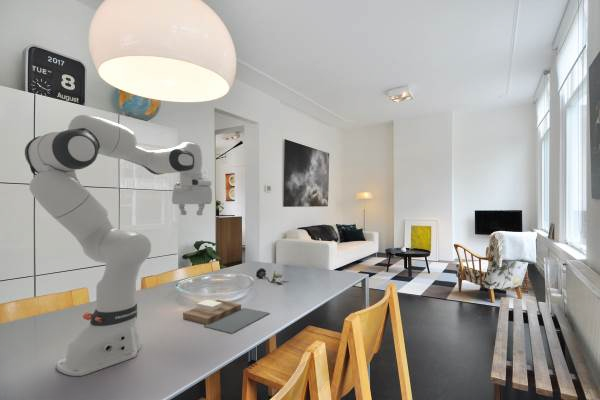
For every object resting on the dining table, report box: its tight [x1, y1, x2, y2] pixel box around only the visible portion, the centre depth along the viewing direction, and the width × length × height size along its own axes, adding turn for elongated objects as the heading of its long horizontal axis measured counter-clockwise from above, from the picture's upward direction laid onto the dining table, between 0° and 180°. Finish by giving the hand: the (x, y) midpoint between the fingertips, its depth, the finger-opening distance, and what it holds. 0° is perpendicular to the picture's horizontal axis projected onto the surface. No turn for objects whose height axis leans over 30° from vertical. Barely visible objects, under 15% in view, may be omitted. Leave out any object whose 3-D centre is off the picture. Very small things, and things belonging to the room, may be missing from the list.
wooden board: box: [182, 299, 242, 326], centre depth 136 cm, size 20×14×2 cm
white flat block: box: [196, 299, 222, 311], centre depth 137 cm, size 6×9×2 cm, turn 61°
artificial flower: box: [255, 267, 285, 285], centre depth 193 cm, size 9×22×10 cm, turn 36°
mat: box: [203, 307, 270, 335], centre depth 129 cm, size 24×14×1 cm, turn 151°
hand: (191, 215), depth 132 cm, fingers open, 8 cm apart
